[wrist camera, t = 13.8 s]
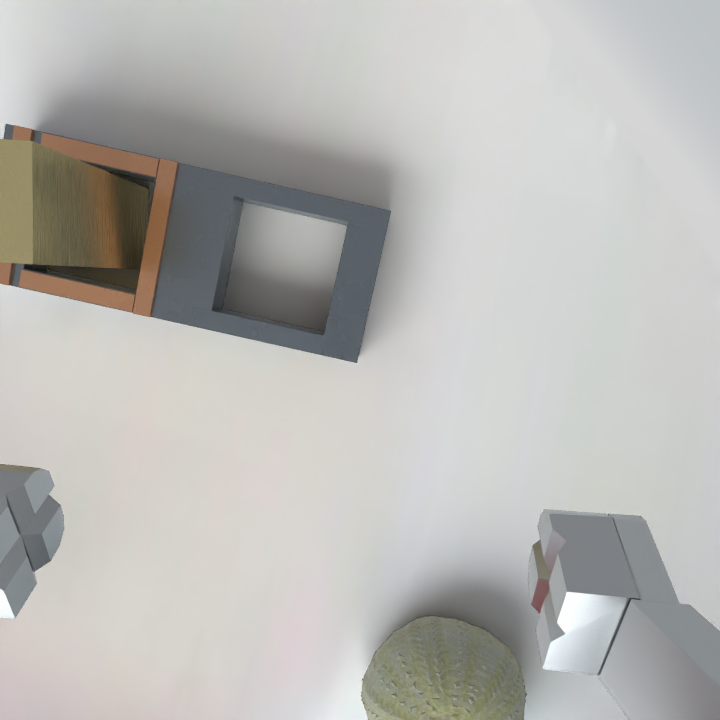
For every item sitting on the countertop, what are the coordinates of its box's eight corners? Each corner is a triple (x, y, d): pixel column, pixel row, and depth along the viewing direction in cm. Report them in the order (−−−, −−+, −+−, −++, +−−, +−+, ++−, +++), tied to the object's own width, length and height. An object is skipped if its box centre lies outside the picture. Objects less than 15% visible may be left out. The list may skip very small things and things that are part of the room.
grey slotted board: (389, 215, 35) (391, 210, 32) (357, 357, 36) (356, 363, 33) (31, 134, 34) (3, 122, 32) (9, 279, 35) (-20, 279, 33)
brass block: (148, 188, 35) (32, 140, 23) (147, 269, 35) (32, 264, 23) (68, 184, 35) (-89, 134, 23) (68, 264, 35) (-86, 257, 23)
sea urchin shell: (420, 581, 35) (521, 708, 30) (480, 592, 41) (573, 700, 36) (318, 698, 36) (399, 841, 31) (391, 693, 42) (469, 812, 37)
